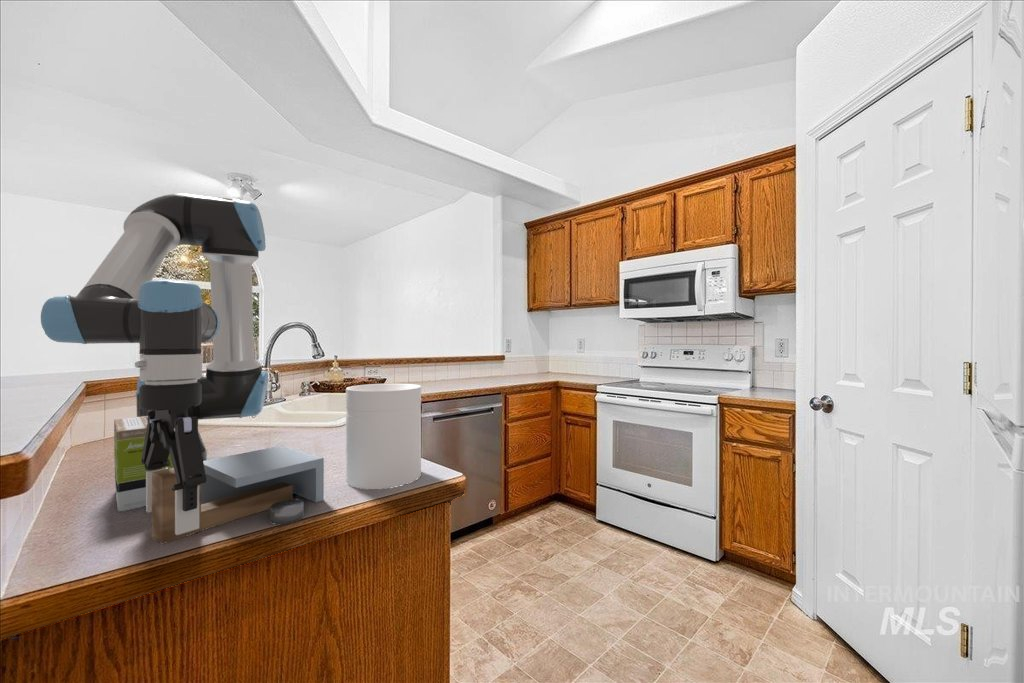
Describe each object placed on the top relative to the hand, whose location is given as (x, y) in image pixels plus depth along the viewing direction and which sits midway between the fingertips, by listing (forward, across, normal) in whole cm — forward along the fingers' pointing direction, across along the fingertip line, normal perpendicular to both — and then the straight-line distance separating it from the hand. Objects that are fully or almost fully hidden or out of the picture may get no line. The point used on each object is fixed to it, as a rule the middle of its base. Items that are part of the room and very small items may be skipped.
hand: (171, 519), depth 66 cm
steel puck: (+3, +8, +14) cm, 16 cm away
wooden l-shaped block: (+2, 0, +8) cm, 9 cm away
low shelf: (+2, -3, +14) cm, 15 cm away
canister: (+3, +3, +38) cm, 38 cm away
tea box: (+3, -25, +4) cm, 25 cm away
